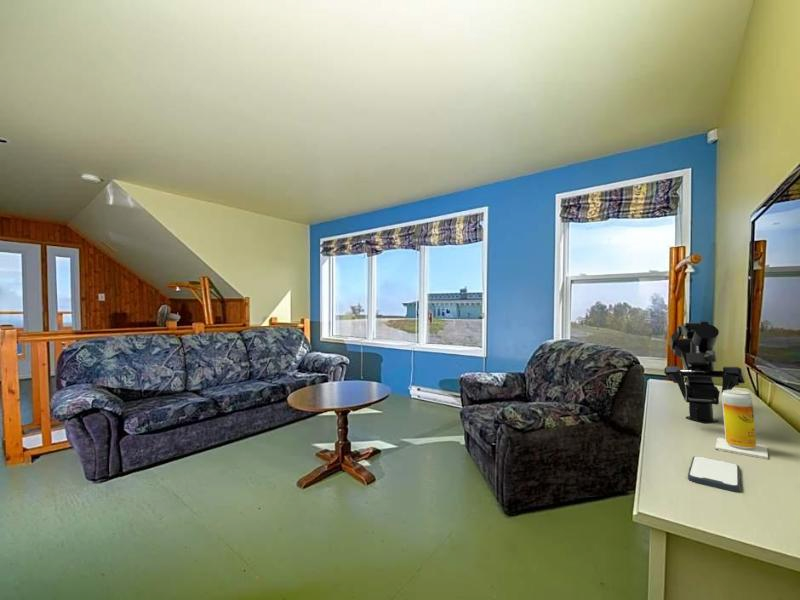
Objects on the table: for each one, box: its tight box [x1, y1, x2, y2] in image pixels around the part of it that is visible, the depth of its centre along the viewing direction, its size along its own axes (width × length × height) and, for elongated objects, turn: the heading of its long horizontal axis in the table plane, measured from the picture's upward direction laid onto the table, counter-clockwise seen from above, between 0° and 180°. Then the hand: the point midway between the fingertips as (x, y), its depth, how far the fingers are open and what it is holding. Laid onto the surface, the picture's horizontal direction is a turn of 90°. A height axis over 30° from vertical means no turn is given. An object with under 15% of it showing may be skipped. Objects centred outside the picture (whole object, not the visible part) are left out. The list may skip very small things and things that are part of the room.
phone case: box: [687, 455, 742, 493], centre depth 82 cm, size 9×2×16 cm
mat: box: [714, 437, 769, 460], centre depth 95 cm, size 10×10×1 cm
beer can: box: [721, 389, 757, 450], centre depth 96 cm, size 6×6×15 cm
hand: (703, 398), depth 106 cm, fingers open, 9 cm apart
